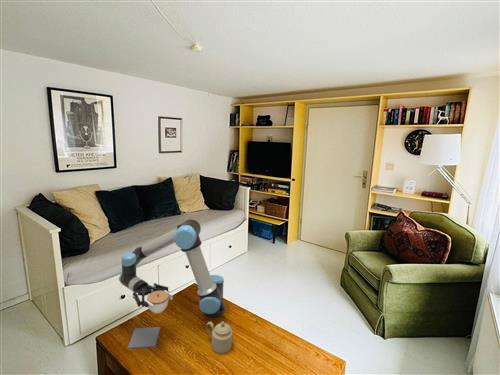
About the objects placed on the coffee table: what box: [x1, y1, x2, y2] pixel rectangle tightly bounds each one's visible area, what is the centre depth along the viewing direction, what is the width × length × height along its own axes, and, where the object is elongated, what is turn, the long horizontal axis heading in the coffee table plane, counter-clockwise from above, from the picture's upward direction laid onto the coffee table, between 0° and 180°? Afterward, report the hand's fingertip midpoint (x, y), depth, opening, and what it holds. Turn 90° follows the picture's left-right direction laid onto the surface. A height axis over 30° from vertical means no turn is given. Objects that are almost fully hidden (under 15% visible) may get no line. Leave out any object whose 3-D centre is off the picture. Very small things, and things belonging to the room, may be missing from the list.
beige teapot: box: [205, 320, 233, 354], centre depth 141 cm, size 15×11×15 cm
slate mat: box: [127, 326, 161, 350], centre depth 144 cm, size 14×14×1 cm
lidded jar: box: [146, 291, 170, 314], centre depth 137 cm, size 11×11×9 cm
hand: (162, 302), depth 135 cm, fingers closed on lidded jar, 11 cm apart
